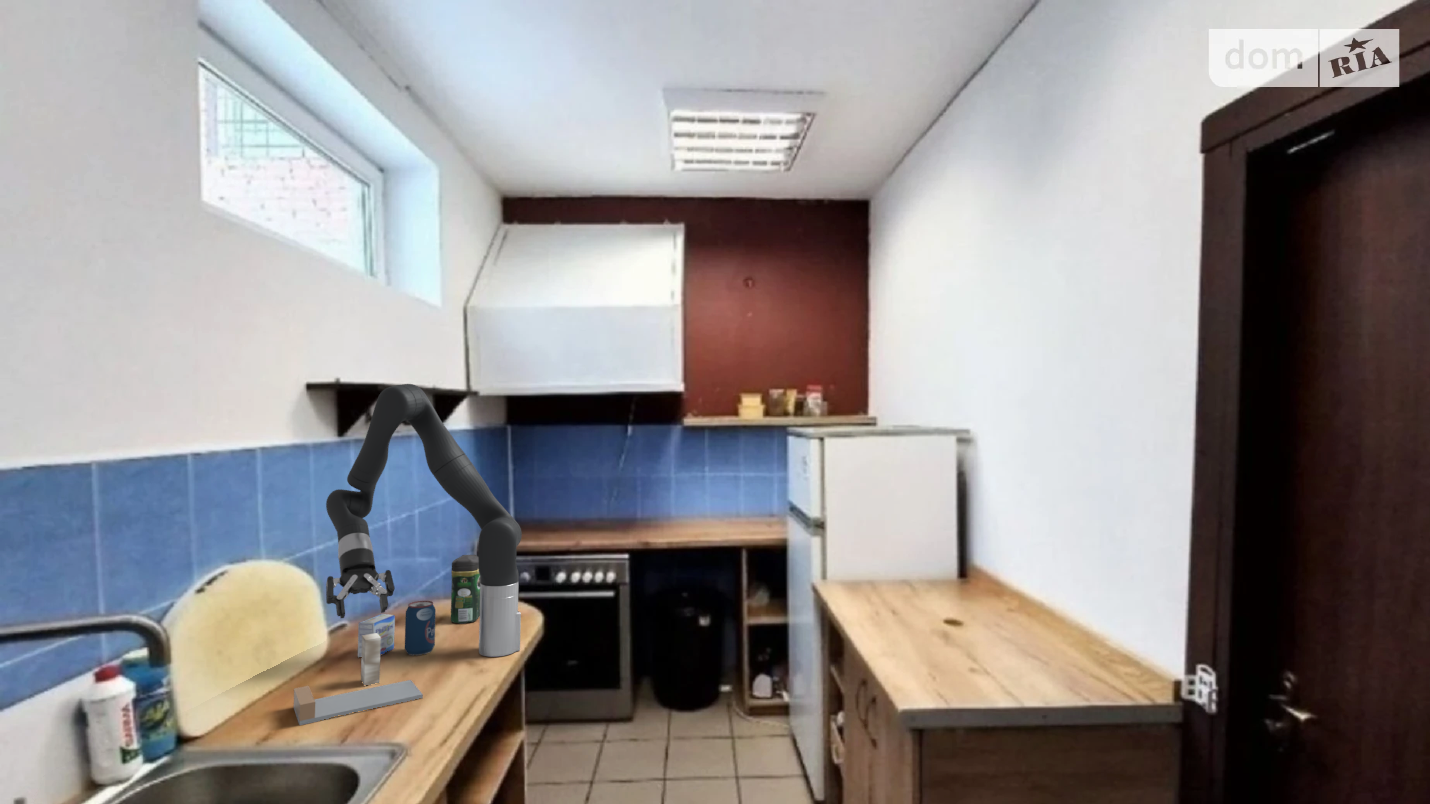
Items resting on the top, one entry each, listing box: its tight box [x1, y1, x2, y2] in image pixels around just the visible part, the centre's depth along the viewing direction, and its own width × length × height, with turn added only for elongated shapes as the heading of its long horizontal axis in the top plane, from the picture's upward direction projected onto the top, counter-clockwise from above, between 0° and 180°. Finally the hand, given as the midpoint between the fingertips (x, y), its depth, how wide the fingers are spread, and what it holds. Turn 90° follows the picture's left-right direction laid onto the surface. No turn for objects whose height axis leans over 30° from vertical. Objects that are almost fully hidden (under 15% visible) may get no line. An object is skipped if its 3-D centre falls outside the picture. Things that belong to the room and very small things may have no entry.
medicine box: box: [357, 613, 396, 658], centre depth 169 cm, size 8×4×9 cm, turn 168°
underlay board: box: [293, 679, 424, 726], centre depth 139 cm, size 22×10×4 cm, turn 127°
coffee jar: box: [450, 554, 480, 625], centre depth 199 cm, size 10×8×19 cm
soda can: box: [404, 600, 437, 656], centre depth 170 cm, size 7×7×12 cm
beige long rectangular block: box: [360, 633, 381, 686], centre depth 150 cm, size 3×4×10 cm
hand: (363, 613), depth 158 cm, fingers open, 8 cm apart
